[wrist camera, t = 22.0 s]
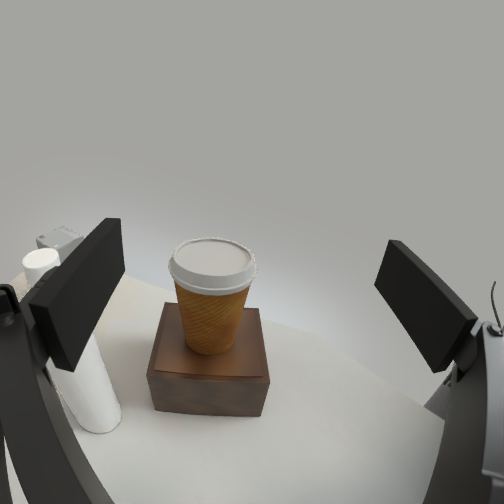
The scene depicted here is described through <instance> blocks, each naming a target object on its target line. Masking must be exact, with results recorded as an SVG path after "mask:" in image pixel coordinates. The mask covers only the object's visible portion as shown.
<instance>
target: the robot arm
mask: <svg viewBox="0 0 504 504" xmlns="http://www.w3.org/2000/svg"><path fill="white" fill-rule="evenodd" d="M122 246H123V245H122V235H121V220H120V218H105V219H104V220H103V221H102V222H101V223H100V224H99V225H98V226H97V227H96V228H95V229H94V230H93V231H92V232H91V233H90V234H89V235H88V236H87V237H86V238H85V239H84V240H83V241H82V242H81V243H80V244H79V245H78V246H77V247H76V248H75V249H74V250H73V251H72V253H71V254H70V255H69V256H68V257H67V258H66V259H65V260H64V261H63V262H62V263H61V265H60V266H54V267H53V268H51V269H50V270H48V271H46V272H45V273H44V274H43V276H42V277H41V278H40V279H39V281H37V282H36V283H35V285H34V287H32V288H31V289H30V291H29V292H28V293H27V294H26V295H25V296H24V298H23V299H22V300H21V301H20V303H19V302H18V300H17V297H16V294H15V291H14V288H13V287H12V286H11V285H9V284H0V504H13V502H12V497H11V492H10V487H9V481H8V474H7V466H6V457H5V446H4V436H5V440H6V444H7V447H8V451H9V454H10V457H11V460H12V463H13V466H14V469H15V472H16V474H17V477H18V480H19V482H20V485H21V487H22V490H23V492H24V494H25V497H26V499H27V501H28V503H29V504H115V503H114V502H113V501H112V499H111V498H110V496H109V495H108V493H107V492H106V490H105V489H104V487H103V485H102V484H101V482H100V481H99V479H98V477H97V476H96V474H95V472H94V471H93V469H92V467H91V465H90V464H89V462H88V460H87V458H86V456H85V454H84V453H83V451H82V449H81V447H80V445H79V443H78V441H77V439H76V437H75V435H74V433H73V430H72V428H71V426H70V424H69V422H68V419H67V417H66V415H65V412H64V410H63V408H62V405H61V403H60V400H59V397H58V395H57V392H56V389H55V387H54V384H53V381H52V378H51V375H50V372H49V370H48V368H47V366H46V363H47V361H48V359H49V357H51V359H52V361H53V364H54V366H55V368H57V369H61V370H65V371H69V372H73V373H74V371H75V369H76V367H77V364H78V362H79V360H80V358H81V355H82V353H83V351H84V349H85V347H86V345H87V343H88V340H89V338H90V336H91V334H92V332H93V330H94V328H95V326H96V324H97V322H98V320H99V318H100V316H101V314H102V312H103V310H104V308H105V307H106V305H107V303H108V301H109V299H110V297H111V295H112V293H113V292H114V290H115V288H116V286H117V284H118V283H119V281H120V279H121V277H122V275H123V274H124V272H125V265H124V256H123V247H122ZM495 284H496V282H494V284H493V287H492V290H491V301H492V306H493V310H494V313H495V317H496V320H497V323H498V326H499V327H498V326H497V325H495V324H494V323H491V322H489V321H485V322H483V323H481V322H480V321H479V320H478V317H477V316H476V315H475V314H474V313H473V312H472V310H471V309H470V308H469V307H468V306H467V305H466V304H465V303H464V302H463V301H462V300H461V299H460V298H459V297H458V296H457V295H456V293H455V292H454V291H453V290H452V289H451V288H450V287H449V286H448V285H447V284H446V283H445V282H444V281H443V280H442V279H441V278H440V277H439V276H438V275H437V274H436V273H434V271H433V270H432V269H430V268H429V267H428V266H427V265H426V264H425V263H424V262H423V261H422V260H421V259H420V258H419V257H418V256H417V255H416V254H414V253H413V252H412V251H411V250H410V249H409V248H408V247H407V246H406V245H404V244H403V243H402V242H401V241H398V240H389V242H388V245H387V248H386V251H385V254H384V257H383V261H382V264H381V266H380V269H379V272H378V275H377V278H376V281H375V284H374V285H375V287H376V288H377V290H378V291H379V292H380V294H381V295H382V296H383V298H384V299H385V301H386V302H387V303H388V305H389V306H390V308H391V309H392V311H393V312H394V313H395V315H396V316H397V318H398V319H399V321H400V322H401V323H402V325H403V327H404V328H405V330H406V331H407V333H408V334H409V336H410V337H411V339H412V340H413V342H414V343H415V345H416V346H417V348H418V349H419V351H420V352H421V354H422V355H423V357H424V359H425V360H426V362H427V364H428V365H429V367H430V368H431V370H432V372H433V373H437V372H441V371H445V370H446V369H447V367H448V366H449V365H450V363H451V362H452V360H454V361H455V363H456V366H455V367H454V369H453V370H452V371H451V373H450V374H449V375H448V377H447V378H446V380H445V381H444V383H443V384H444V385H445V384H446V383H447V382H448V381H449V380H451V382H450V384H449V385H448V386H449V387H450V395H449V402H448V409H447V415H446V421H445V426H444V431H443V436H442V440H441V445H440V449H439V453H438V457H437V461H436V464H435V468H434V471H433V475H432V478H431V481H430V484H429V487H428V490H427V493H426V496H425V499H424V501H423V504H504V326H503V328H502V330H501V324H500V321H499V318H498V315H497V312H496V308H495V305H494V300H493V290H494V286H495Z"/></svg>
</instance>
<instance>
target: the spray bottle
mask: <svg viewBox="0 0 504 504" xmlns="http://www.w3.org/2000/svg"><path fill="white" fill-rule="evenodd" d="M22 265H23V269H24V273H25V276H26V280H27V283H28V285H29V286H30V287H31V288H32V287H34V285H35V283H36V282H37V281H39V279H40V278H41V277H42V276H43V274H44V273H45V272H46V271H48V270H50V269H51V268H53V267H54V266H60V265H61V264H60V259H59V254H58V252H57V251H56V250H55V249H52V248H42V249H38V250H35V251H33V252H31V253H29V254H27V255H26V256H25V257H24V259H23V262H22ZM46 366H47V368H48V370H49V372H50V375H51V378H52V380H53V381H54V383H55V385H56V387H57V388H58V390H59V392H60V394H61V395H62V397H63V399H64V400H65V402H66V403H67V405H68V407H69V408H70V410H71V411H72V413H73V414H74V416H75V417H76V419H77V420H78V422H79V423H80V424H81V426H82V427H83V428H85V429H86V430H88V431H90V432H93V433H98V434H101V433H107V432H110V431H112V430H113V429H114V428H116V427H117V425H118V424H119V423H120V420H121V417H122V410H121V407H120V404H119V402H118V399H117V397H116V395H115V392H114V390H113V387H112V385H111V382H110V379H109V377H108V374H107V371H106V368H105V366H104V363H103V360H102V357H101V354H100V351H99V348H98V345H97V341H96V338H95V335H94V332H92V334H91V336H90V338H89V340H88V343H87V345H86V347H85V349H84V351H83V353H82V355H81V358H80V360H79V362H78V364H77V367H76V369H75V371H74V373H73V372H69V371H65V370H61V369H57V368H55V366H54V364H53V361H52V359H51V357H49V359H48V361H47V363H46Z"/></svg>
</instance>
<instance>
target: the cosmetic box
mask: <svg viewBox="0 0 504 504" xmlns="http://www.w3.org/2000/svg"><path fill="white" fill-rule="evenodd" d="M83 240H84V238H83V236H82V235H80V234H78V233H76V232H74V231H72V230H70V229H68V228H66V227H64V226H63V227H60V228H58V229H55V230H53V231H51V232H49V233H47V234H44V235H42V236H40V237H38V238H36V241H37V246H38V249H42V248H52V249H55V250H56V251H57V252H58V254H59V259H60V264H61V263H62V262H63V261H64V260H65V259H66V258H67V257H68V256H69V255H70V254H71V253H72V251H73V250H74V249H75V248H76V247H77V246H78V245H79V244H80V243H81V242H82V241H83Z"/></svg>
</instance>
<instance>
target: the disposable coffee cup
mask: <svg viewBox="0 0 504 504" xmlns="http://www.w3.org/2000/svg"><path fill="white" fill-rule="evenodd" d="M168 267H169V271H170V274H171V275H172V277H173V279H174V283H175V288H176V293H177V294H176V295H177V300H178V305H179V310H180V315H181V320H182V325H183V330H184V335H185V340H186V343H187V344H188V346H189V347H190V348H191V349H193V350H194V351H196V352H198V353H201V354H205V355H216V354H221V353H224V352H226V351H227V350H229V349H230V348H231V347H232V345H233V343H234V339H235V336H236V332H237V329H238V325H239V322H240V319H241V315H242V312H243V308H244V304H245V301H246V297H247V294H248V291H249V287H250V284H251V282H252V281H253V279H254V278H255V277H256V274H257V265H256V263H255V262H254V256H253V253H252V252H251V251H250V250H249V249H248V248H247V247H245V246H244V245H242V244H240V243H237V242H234V241H232V240H227V239H222V238H196V239H191V240H188V241H185V242H183V243H181V244H180V245H178V246H177V247H176V248H175V250H174V252H173V255H172V257H171V259H170V261H169V266H168Z"/></svg>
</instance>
